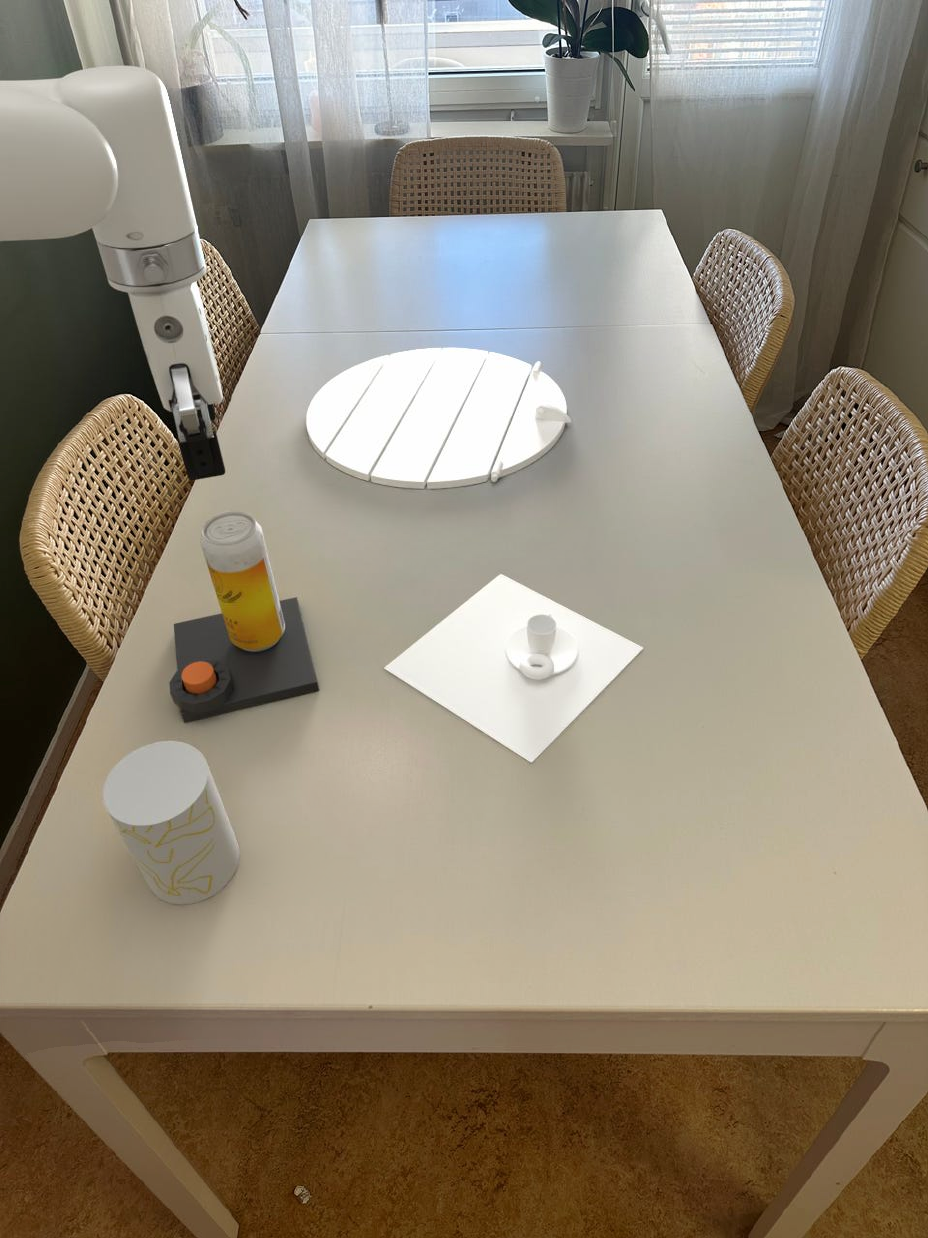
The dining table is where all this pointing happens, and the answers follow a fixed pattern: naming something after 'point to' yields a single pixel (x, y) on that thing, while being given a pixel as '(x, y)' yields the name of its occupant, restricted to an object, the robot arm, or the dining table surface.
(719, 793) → the dining table surface
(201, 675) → the power button
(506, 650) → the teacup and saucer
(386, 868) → the dining table surface
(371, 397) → the lazy susan
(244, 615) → the beer can
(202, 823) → the cup
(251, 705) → the scale
